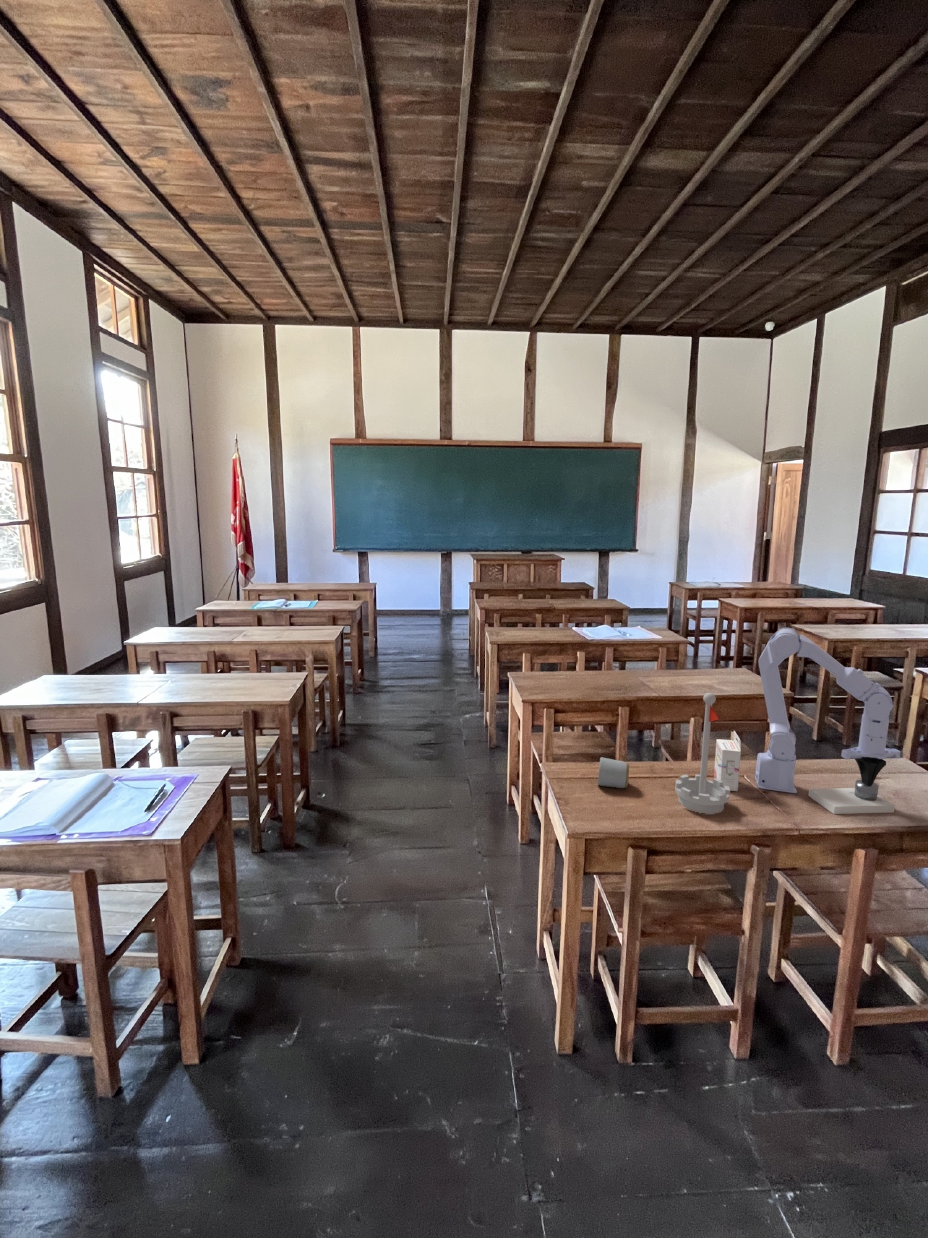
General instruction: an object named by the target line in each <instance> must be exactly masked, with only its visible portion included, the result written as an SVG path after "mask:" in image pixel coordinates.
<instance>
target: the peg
mask: <svg viewBox="0 0 928 1238" xmlns="http://www.w3.org/2000/svg"><path fill="white" fill-rule="evenodd" d="M879 787H880V786H879V785H878V783H875V782H874V783H873V785H872V786H867V785H865V784H864V783H862V779H857V780H855V783H854V788H855V791H854V795H855V796H856V797H858V798H860V799H863V800H867V801H876V800H877V796H878V795H879Z"/></svg>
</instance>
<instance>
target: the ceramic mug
mask: <svg viewBox="0 0 928 1238" xmlns="http://www.w3.org/2000/svg"><path fill="white" fill-rule="evenodd" d="M597 776H598V778H597V786H599V785H600V786H601V787H609V788H615V787H616V788H617V789H626V788H628V784H629V777H630V764H629V763H628V762H626V761H623V760H617V759H612V758H608V757H602V756H601V757H600V758H599V768H598V775H597Z"/></svg>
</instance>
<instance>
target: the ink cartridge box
mask: <svg viewBox="0 0 928 1238" xmlns="http://www.w3.org/2000/svg"><path fill="white" fill-rule="evenodd" d="M741 741H742V740H741V739H740V737H739V735H738V734H737V732H736V731H735V730H733V740H732V739H723V738H722V739H719V738H718V739H717V738H716V743H715V754H714V755H715V756H714V757H715V758H714V769H713V779H715V778H716V779H718V780H720V781H722V782H723V786H729V788H730V791H731V792H738V791H739V781H740V780H739V777H740V767H741V757H742V756H741V754H742V742H741Z"/></svg>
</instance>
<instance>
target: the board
mask: <svg viewBox="0 0 928 1238" xmlns="http://www.w3.org/2000/svg"><path fill="white" fill-rule="evenodd" d="M854 791H855V787H836V788H833V787H832V788H829V787H828V788H809V790H808V795H807V796H808V797H809V798H811V799H812V800H813V801H814V802H816V803H817V804H819V805H821V806H822V807H823V808H825V810H828V811H829V812H830V813H832V814H834V815H842V814H844V815H846V814H847V815H848V814H849V815H850V814H853V815H854V814H879V813H880V814H885V813H886V814H887V813H890V814H891V813H895V812H894V811H895V807H896V804H894V803H892V802H890V801H889V800H887V799H885V798H884V797H882V796H880V795H879V794H878V796H877V800H876V801H867V800H863V799H860V798H858V797H856V796H855V795H854Z"/></svg>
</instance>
